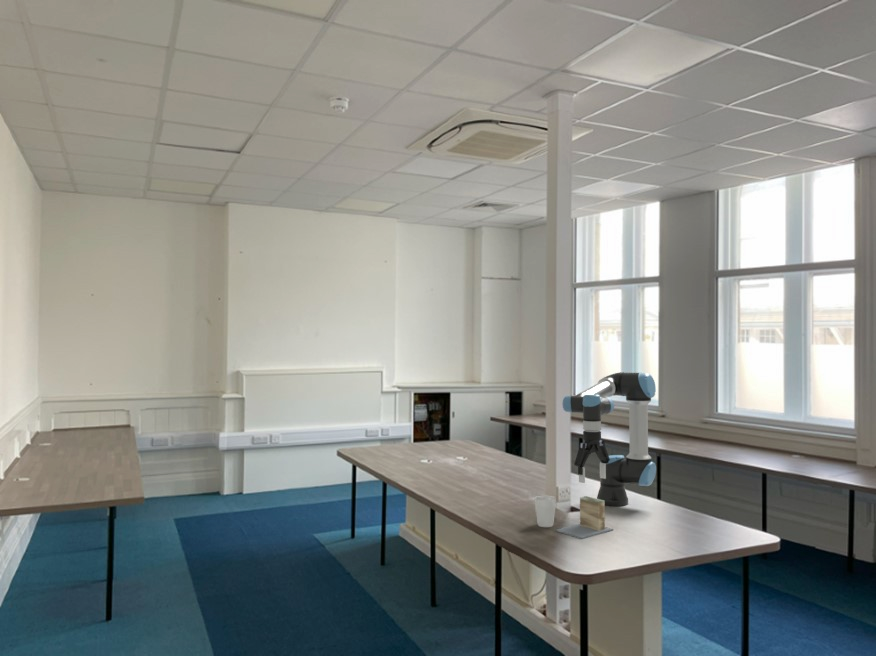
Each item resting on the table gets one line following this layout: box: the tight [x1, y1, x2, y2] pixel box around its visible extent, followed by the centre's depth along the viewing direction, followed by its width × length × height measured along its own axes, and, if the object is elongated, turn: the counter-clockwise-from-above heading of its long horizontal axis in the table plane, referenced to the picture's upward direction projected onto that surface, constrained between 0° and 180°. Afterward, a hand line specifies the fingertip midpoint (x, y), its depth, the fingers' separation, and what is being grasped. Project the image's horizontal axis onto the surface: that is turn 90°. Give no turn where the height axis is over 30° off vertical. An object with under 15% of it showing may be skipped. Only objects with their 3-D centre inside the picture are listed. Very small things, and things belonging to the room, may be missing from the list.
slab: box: [579, 495, 606, 531], centre depth 283 cm, size 4×10×12 cm, turn 37°
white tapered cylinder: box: [534, 494, 557, 528], centre depth 288 cm, size 9×9×12 cm
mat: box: [555, 523, 614, 540], centre depth 279 cm, size 20×14×1 cm
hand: (592, 480), depth 283 cm, fingers open, 13 cm apart
